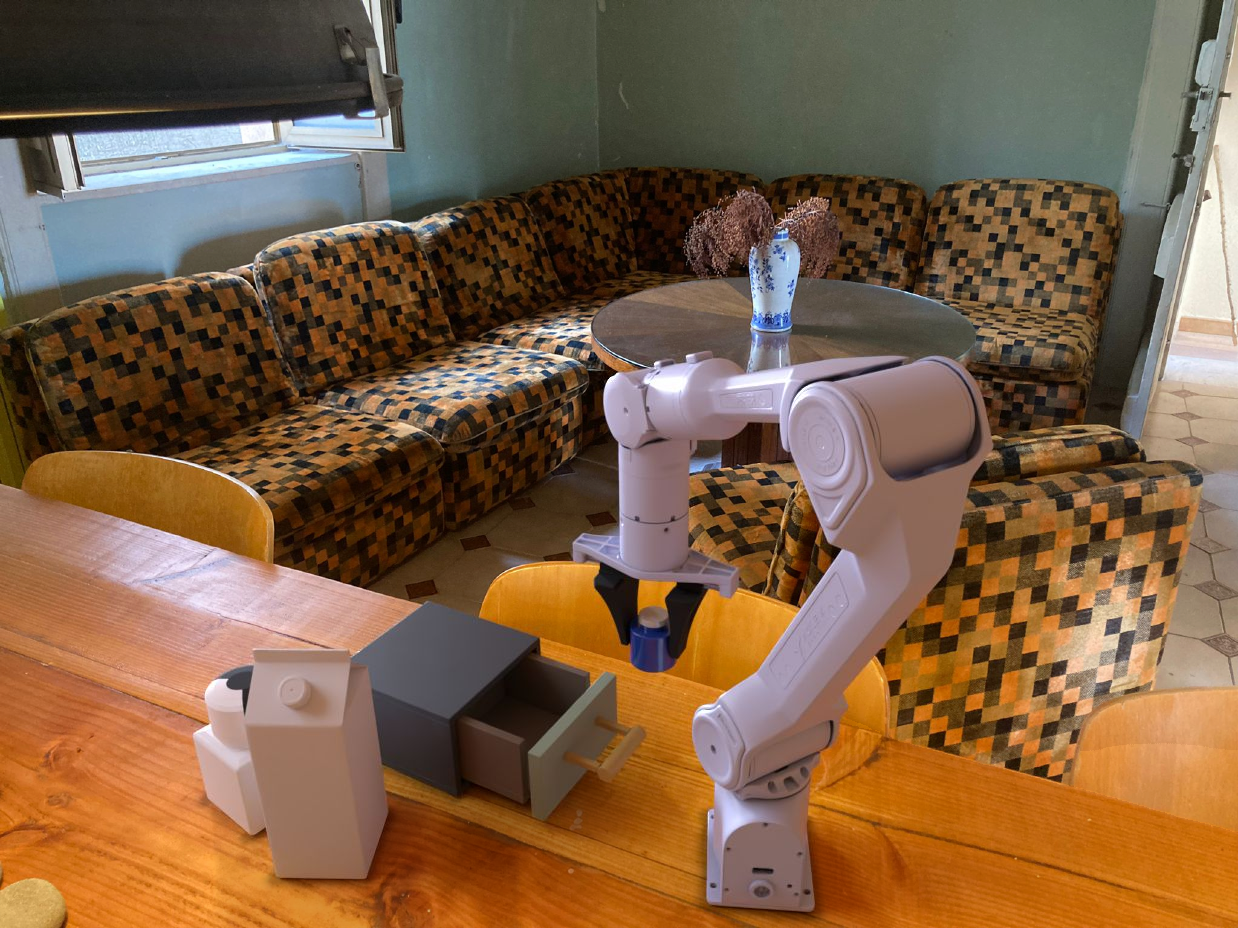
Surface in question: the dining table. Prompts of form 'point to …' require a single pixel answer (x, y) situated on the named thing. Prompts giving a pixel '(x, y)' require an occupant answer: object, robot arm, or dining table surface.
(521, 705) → the drawer
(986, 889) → the dining table surface
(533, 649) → the cabinet
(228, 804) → the medicine bottle
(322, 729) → the milk carton
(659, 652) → the spice bottle
